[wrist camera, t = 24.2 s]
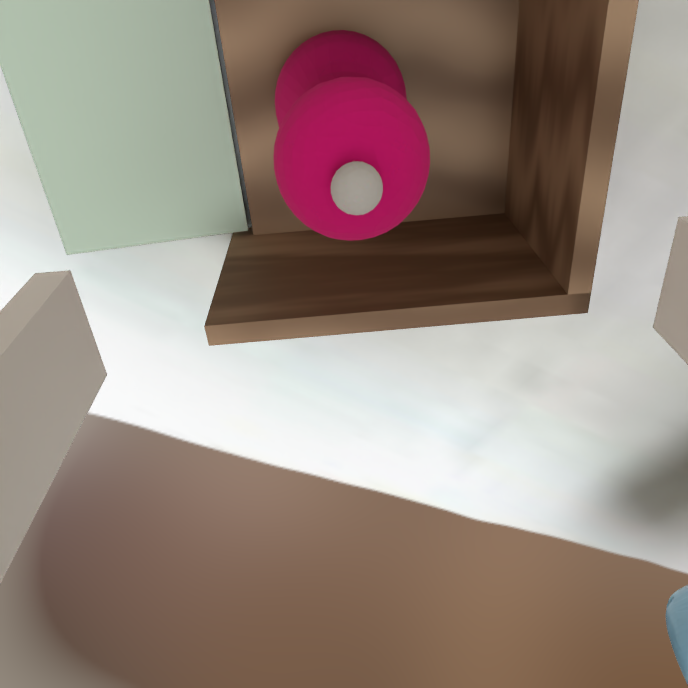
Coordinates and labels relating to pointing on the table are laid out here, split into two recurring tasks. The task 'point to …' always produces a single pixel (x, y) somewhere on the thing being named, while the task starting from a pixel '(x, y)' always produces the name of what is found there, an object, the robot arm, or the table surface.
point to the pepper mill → (347, 138)
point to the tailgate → (124, 118)
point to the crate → (435, 167)
